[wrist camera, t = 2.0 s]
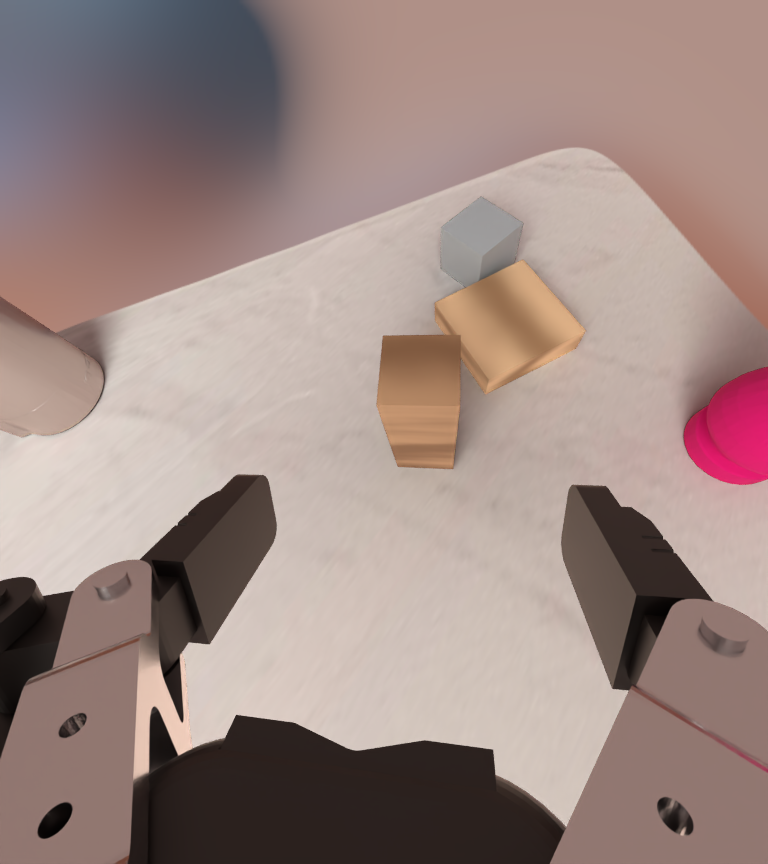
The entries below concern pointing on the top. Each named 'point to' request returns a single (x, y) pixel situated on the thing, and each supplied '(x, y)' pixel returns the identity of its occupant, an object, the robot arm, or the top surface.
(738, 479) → the pepper mill
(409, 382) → the walnut pillar
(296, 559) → the top surface
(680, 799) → the robot arm
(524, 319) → the oak base
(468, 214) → the slate block
